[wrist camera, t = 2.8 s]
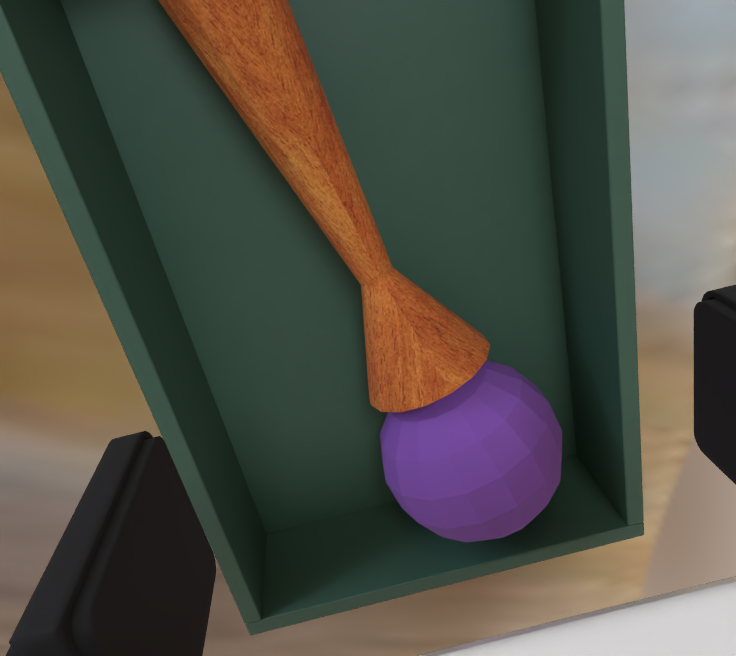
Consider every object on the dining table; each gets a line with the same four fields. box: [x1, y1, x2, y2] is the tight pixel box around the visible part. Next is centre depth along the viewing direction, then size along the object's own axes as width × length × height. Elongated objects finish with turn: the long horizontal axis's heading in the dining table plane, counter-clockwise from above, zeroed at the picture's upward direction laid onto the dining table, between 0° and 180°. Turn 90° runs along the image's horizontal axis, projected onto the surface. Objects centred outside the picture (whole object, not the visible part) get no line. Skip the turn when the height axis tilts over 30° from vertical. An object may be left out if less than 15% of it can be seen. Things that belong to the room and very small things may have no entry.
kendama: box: [158, 0, 562, 542], centre depth 18 cm, size 6×6×20 cm
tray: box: [0, 0, 644, 635], centre depth 19 cm, size 23×14×5 cm, turn 12°
